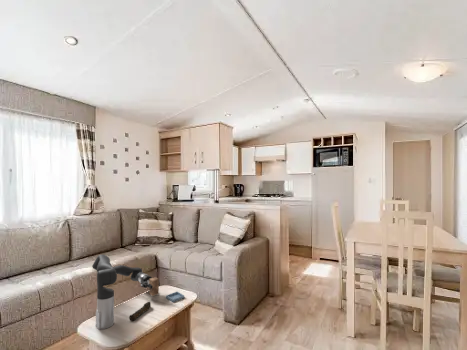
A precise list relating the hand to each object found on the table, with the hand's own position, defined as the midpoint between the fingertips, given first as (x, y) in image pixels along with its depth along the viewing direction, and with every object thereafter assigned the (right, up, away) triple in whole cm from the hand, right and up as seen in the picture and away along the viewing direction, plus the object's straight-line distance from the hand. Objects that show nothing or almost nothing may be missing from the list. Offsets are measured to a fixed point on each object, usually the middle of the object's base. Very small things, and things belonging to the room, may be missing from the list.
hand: (155, 285), depth 187 cm
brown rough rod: (-4, -11, -19) cm, 22 cm away
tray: (+14, -10, +3) cm, 17 cm away
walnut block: (-2, -7, +2) cm, 7 cm away
